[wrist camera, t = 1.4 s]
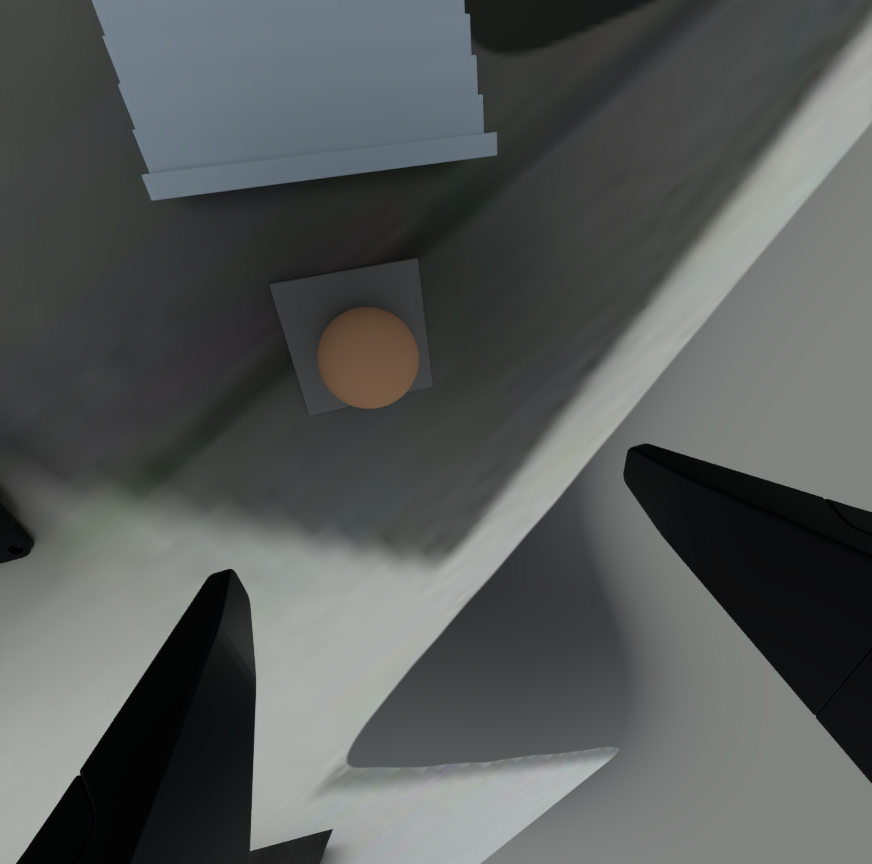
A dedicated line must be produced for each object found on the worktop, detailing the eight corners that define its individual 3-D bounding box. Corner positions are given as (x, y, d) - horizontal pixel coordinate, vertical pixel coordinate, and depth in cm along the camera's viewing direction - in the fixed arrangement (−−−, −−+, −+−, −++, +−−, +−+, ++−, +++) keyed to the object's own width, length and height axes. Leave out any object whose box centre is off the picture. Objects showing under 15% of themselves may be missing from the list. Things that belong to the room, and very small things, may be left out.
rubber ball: (325, 392, 20) (336, 438, 17) (302, 305, 18) (309, 338, 14) (410, 372, 21) (436, 412, 17) (398, 287, 18) (425, 315, 15)
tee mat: (309, 414, 20) (309, 416, 20) (269, 283, 17) (268, 284, 17) (431, 384, 22) (432, 386, 21) (416, 257, 18) (418, 258, 18)
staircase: (176, 191, 15) (152, 201, 12) (40, -168, 10) (-55, -302, 7) (455, 155, 17) (497, 155, 14) (436, -158, 12) (489, -261, 9)
